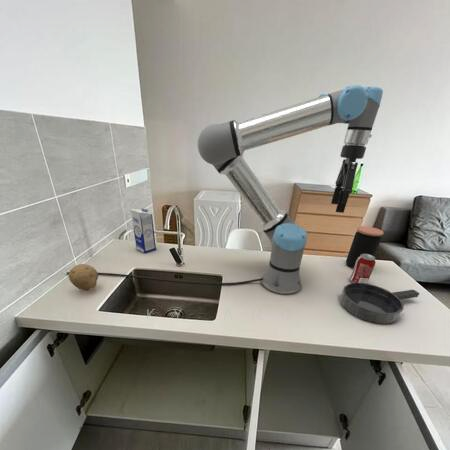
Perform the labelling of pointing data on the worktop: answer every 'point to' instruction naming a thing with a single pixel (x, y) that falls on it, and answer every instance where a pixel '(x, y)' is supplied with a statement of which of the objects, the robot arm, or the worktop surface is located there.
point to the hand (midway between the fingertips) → (336, 207)
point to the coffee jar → (364, 244)
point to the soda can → (363, 268)
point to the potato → (83, 277)
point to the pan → (371, 303)
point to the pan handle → (404, 294)
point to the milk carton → (143, 230)
